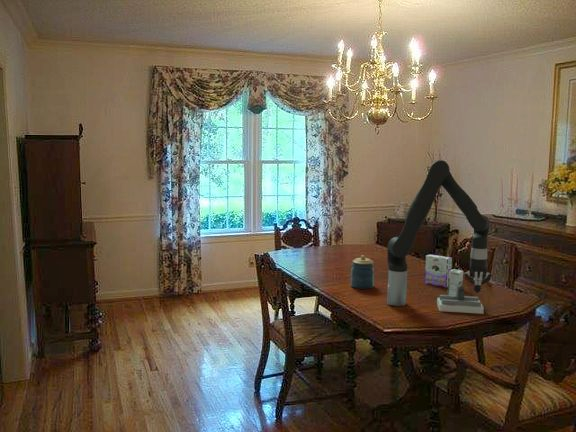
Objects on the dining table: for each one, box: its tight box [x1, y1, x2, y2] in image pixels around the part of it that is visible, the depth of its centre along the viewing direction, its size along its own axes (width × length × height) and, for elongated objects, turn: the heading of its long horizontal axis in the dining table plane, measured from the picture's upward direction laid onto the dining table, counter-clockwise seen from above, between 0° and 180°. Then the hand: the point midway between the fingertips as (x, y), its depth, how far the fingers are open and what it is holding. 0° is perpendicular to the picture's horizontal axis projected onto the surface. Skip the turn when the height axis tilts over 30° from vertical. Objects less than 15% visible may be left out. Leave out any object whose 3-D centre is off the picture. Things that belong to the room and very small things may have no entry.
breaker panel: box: [436, 294, 485, 315], centre depth 255 cm, size 20×12×5 cm, turn 80°
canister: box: [350, 254, 375, 290], centre depth 292 cm, size 13×13×18 cm
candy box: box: [423, 253, 453, 288], centre depth 297 cm, size 14×6×16 cm, turn 47°
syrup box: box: [446, 268, 464, 296], centre depth 272 cm, size 6×6×14 cm
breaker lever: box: [456, 284, 466, 300], centre depth 254 cm, size 3×5×8 cm, turn 170°
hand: (477, 292), depth 253 cm, fingers closed
